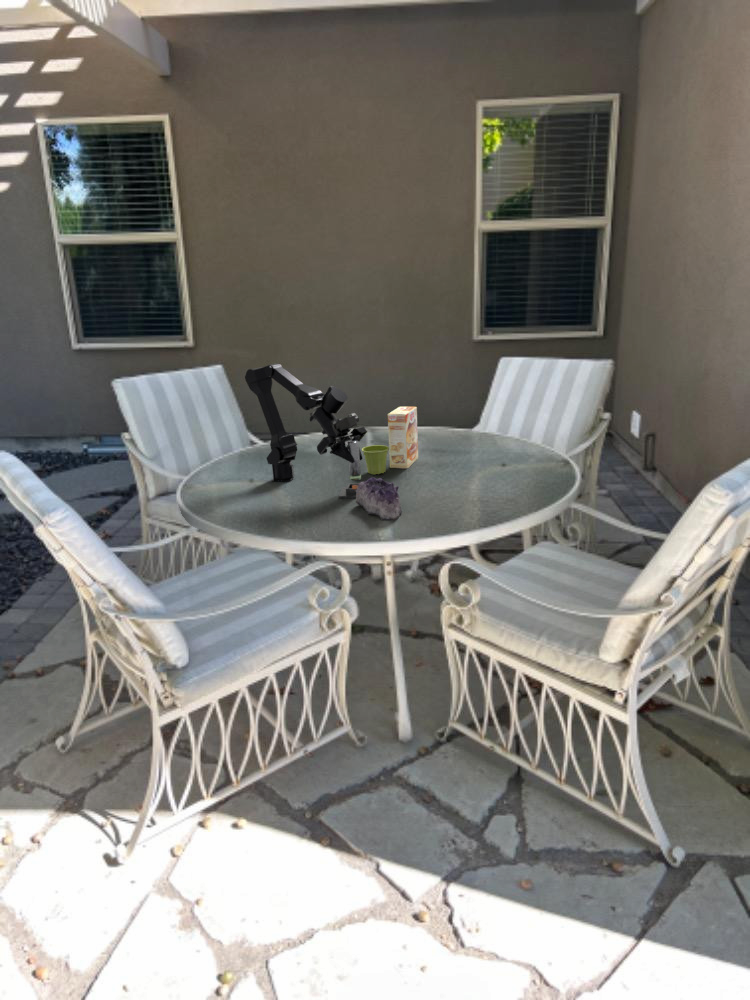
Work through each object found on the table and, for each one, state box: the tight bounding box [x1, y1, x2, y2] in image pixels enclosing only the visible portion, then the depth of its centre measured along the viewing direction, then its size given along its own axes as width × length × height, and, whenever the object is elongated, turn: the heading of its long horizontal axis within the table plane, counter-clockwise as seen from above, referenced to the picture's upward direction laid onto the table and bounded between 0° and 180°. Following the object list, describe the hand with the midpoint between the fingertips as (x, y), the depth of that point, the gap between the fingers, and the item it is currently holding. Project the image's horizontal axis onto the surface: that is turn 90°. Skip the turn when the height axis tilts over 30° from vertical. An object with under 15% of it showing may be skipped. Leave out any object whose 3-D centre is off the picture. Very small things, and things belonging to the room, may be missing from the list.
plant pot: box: [361, 444, 389, 475], centre depth 241 cm, size 9×9×9 cm
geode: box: [355, 476, 403, 521], centre depth 202 cm, size 20×12×10 cm, turn 23°
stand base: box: [337, 483, 359, 500], centre depth 220 cm, size 10×10×3 cm
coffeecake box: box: [387, 406, 419, 469], centre depth 250 cm, size 15×7×20 cm, turn 161°
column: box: [348, 441, 362, 481], centre depth 217 cm, size 4×4×12 cm
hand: (357, 460), depth 216 cm, fingers closed on column, 3 cm apart
